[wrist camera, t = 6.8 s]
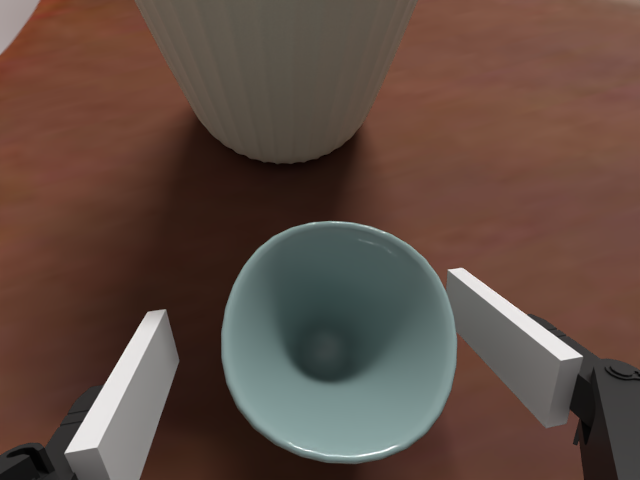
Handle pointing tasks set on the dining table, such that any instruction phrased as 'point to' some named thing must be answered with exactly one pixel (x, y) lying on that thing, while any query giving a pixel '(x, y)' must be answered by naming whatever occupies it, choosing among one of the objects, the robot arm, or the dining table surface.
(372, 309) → the cup
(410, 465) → the dining table surface
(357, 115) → the canister
